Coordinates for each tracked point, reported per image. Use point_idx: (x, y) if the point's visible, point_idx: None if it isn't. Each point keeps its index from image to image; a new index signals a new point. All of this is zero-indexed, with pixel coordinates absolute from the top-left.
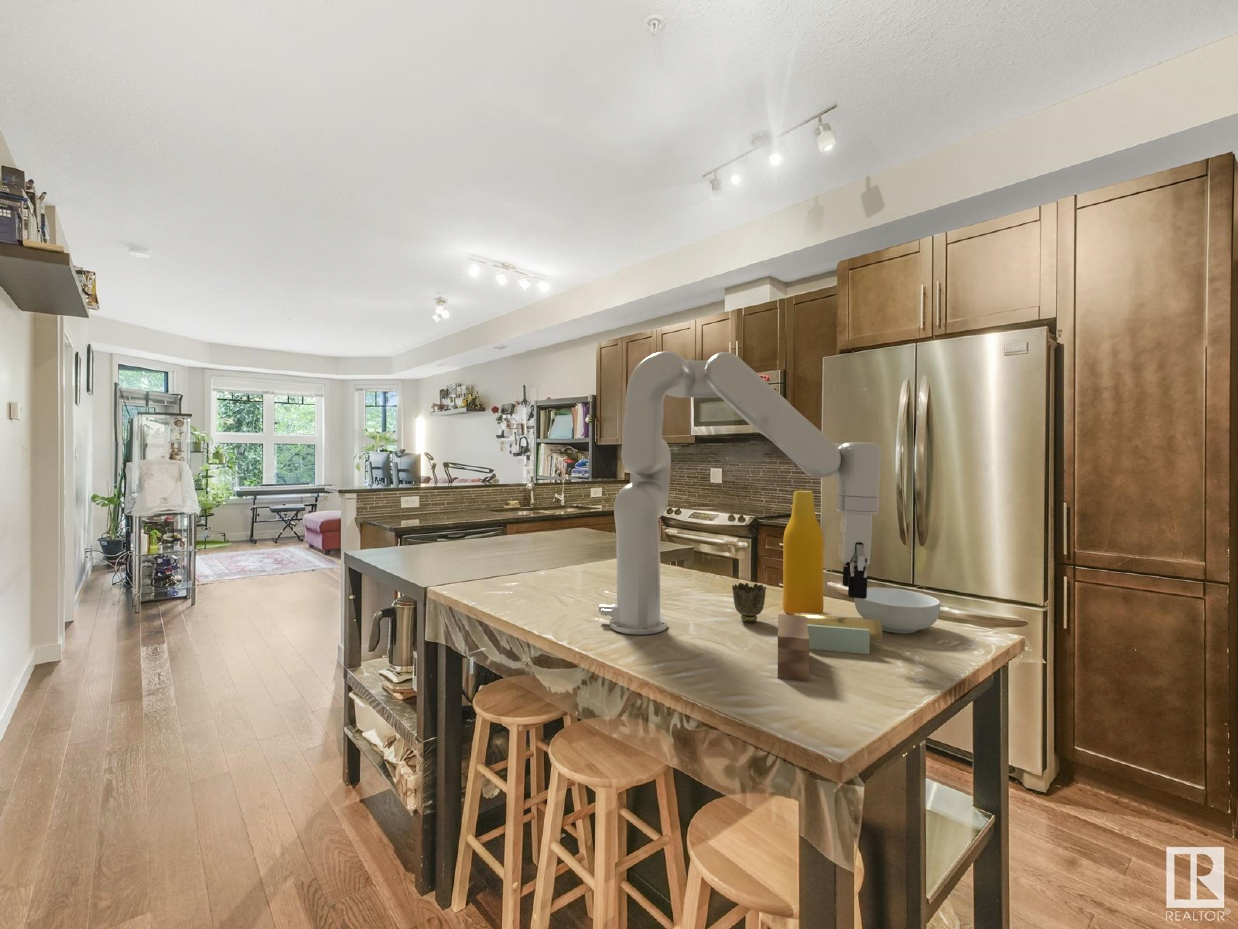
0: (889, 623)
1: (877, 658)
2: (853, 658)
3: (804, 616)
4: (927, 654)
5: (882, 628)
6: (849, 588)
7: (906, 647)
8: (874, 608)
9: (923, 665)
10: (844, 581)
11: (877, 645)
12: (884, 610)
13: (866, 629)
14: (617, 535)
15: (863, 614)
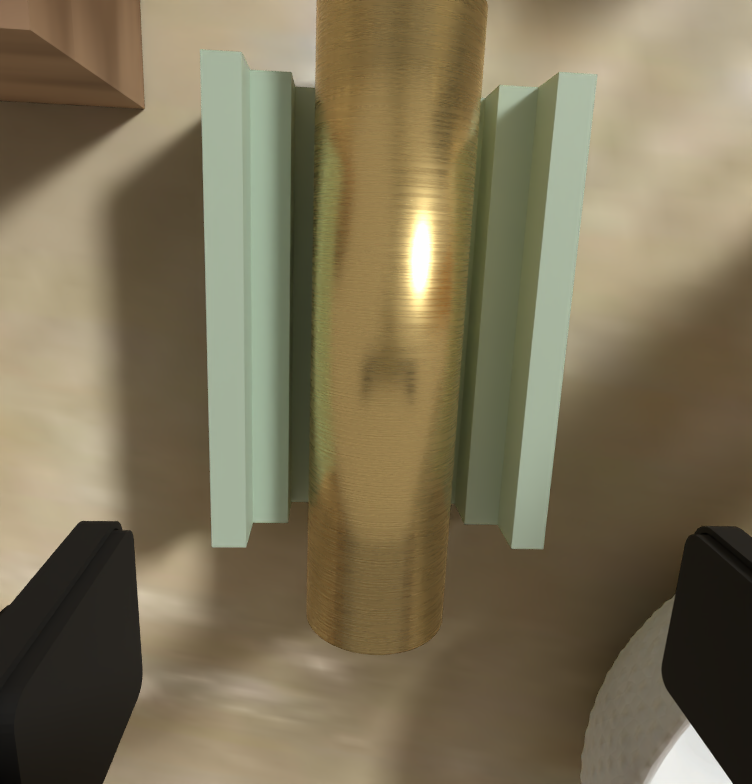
0: (606, 678)
1: (186, 513)
2: (142, 390)
3: (2, 12)
4: (327, 743)
5: None
6: (42, 582)
7: (415, 675)
8: None
9: (151, 698)
10: (720, 563)
11: None
12: (639, 713)
13: (231, 531)
14: None
15: None
